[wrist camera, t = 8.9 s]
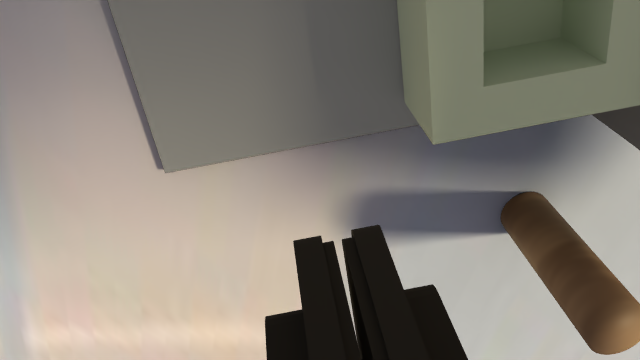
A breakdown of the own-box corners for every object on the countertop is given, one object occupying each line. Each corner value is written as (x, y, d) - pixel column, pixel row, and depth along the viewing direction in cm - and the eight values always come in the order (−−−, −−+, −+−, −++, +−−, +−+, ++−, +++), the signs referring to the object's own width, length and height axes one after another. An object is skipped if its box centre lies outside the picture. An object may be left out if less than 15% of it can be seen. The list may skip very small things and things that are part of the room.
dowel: (549, 187, 34) (655, 300, 25) (546, 227, 36) (645, 347, 27) (501, 197, 34) (590, 313, 25) (500, 237, 35) (584, 359, 27)
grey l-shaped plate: (658, -227, 24) (773, -249, 19) (616, 100, 32) (689, 148, 26) (68, -125, 23) (19, -119, 18) (171, 185, 31) (157, 252, 26)
